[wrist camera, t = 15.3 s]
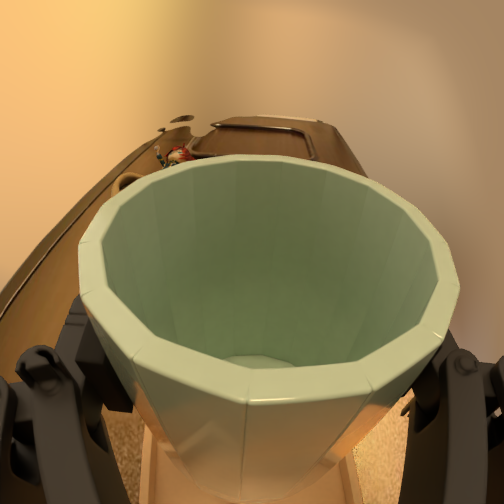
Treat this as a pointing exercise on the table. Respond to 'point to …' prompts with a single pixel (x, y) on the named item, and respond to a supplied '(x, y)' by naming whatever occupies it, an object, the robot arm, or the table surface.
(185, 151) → the toy
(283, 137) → the table surface
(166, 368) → the rice cup
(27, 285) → the table surface
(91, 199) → the table surface
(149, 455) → the tray
